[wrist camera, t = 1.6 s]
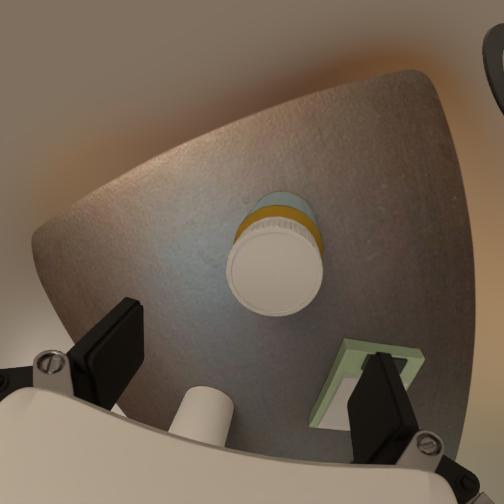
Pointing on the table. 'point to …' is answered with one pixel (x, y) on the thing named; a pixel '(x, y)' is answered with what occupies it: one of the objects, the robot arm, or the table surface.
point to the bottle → (276, 256)
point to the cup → (204, 416)
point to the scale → (356, 379)
